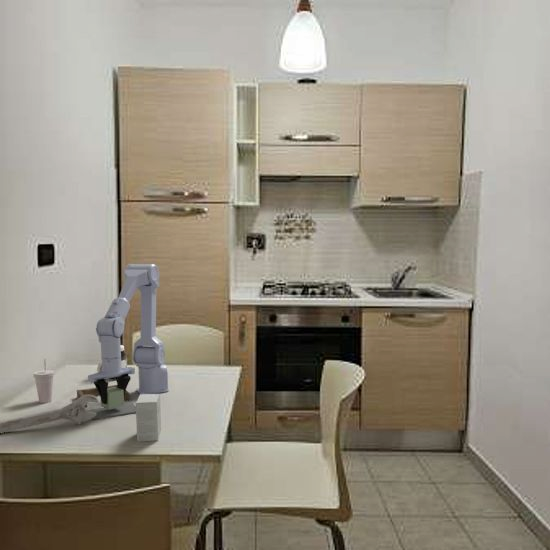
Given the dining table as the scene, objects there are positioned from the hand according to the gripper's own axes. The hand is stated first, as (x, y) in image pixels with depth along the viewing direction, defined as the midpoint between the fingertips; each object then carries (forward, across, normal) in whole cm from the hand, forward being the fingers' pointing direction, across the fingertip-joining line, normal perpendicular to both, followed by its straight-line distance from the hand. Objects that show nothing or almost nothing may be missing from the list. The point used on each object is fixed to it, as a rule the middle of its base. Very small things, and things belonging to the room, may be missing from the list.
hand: (112, 401), depth 176 cm
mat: (+3, 0, 0) cm, 3 cm away
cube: (+2, 0, 0) cm, 2 cm away
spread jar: (+4, -22, -40) cm, 46 cm away
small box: (+4, +4, +26) cm, 27 cm away
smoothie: (+4, +10, -27) cm, 29 cm away
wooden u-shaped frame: (+3, -5, -15) cm, 16 cm away
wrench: (+4, +20, -1) cm, 21 cm away
